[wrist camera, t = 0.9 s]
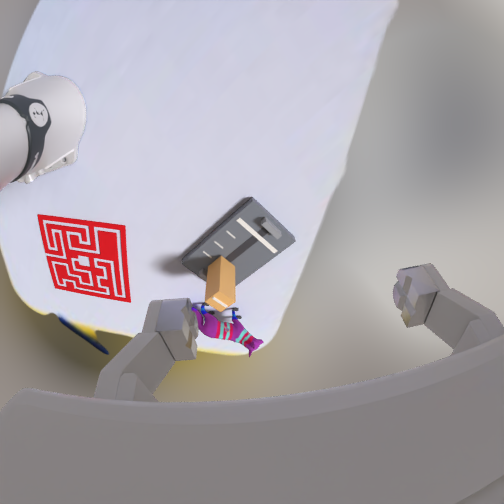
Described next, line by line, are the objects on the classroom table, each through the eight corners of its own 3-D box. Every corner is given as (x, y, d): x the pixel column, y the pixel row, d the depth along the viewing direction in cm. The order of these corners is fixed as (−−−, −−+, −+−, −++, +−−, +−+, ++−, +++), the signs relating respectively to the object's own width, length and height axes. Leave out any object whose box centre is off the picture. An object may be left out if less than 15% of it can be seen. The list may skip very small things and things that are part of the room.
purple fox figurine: (258, 321, 67) (261, 358, 59) (180, 308, 63) (174, 346, 55) (263, 310, 65) (267, 349, 57) (182, 296, 61) (175, 335, 53)
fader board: (224, 289, 60) (224, 299, 58) (182, 258, 55) (180, 268, 53) (294, 236, 53) (297, 246, 51) (252, 196, 48) (253, 205, 46)
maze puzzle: (39, 213, 47) (37, 214, 47) (126, 224, 50) (124, 226, 50) (56, 286, 59) (55, 288, 58) (131, 300, 62) (130, 302, 61)
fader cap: (222, 276, 56) (220, 313, 48) (208, 266, 54) (204, 302, 47) (235, 266, 55) (235, 302, 47) (221, 255, 53) (219, 291, 46)
